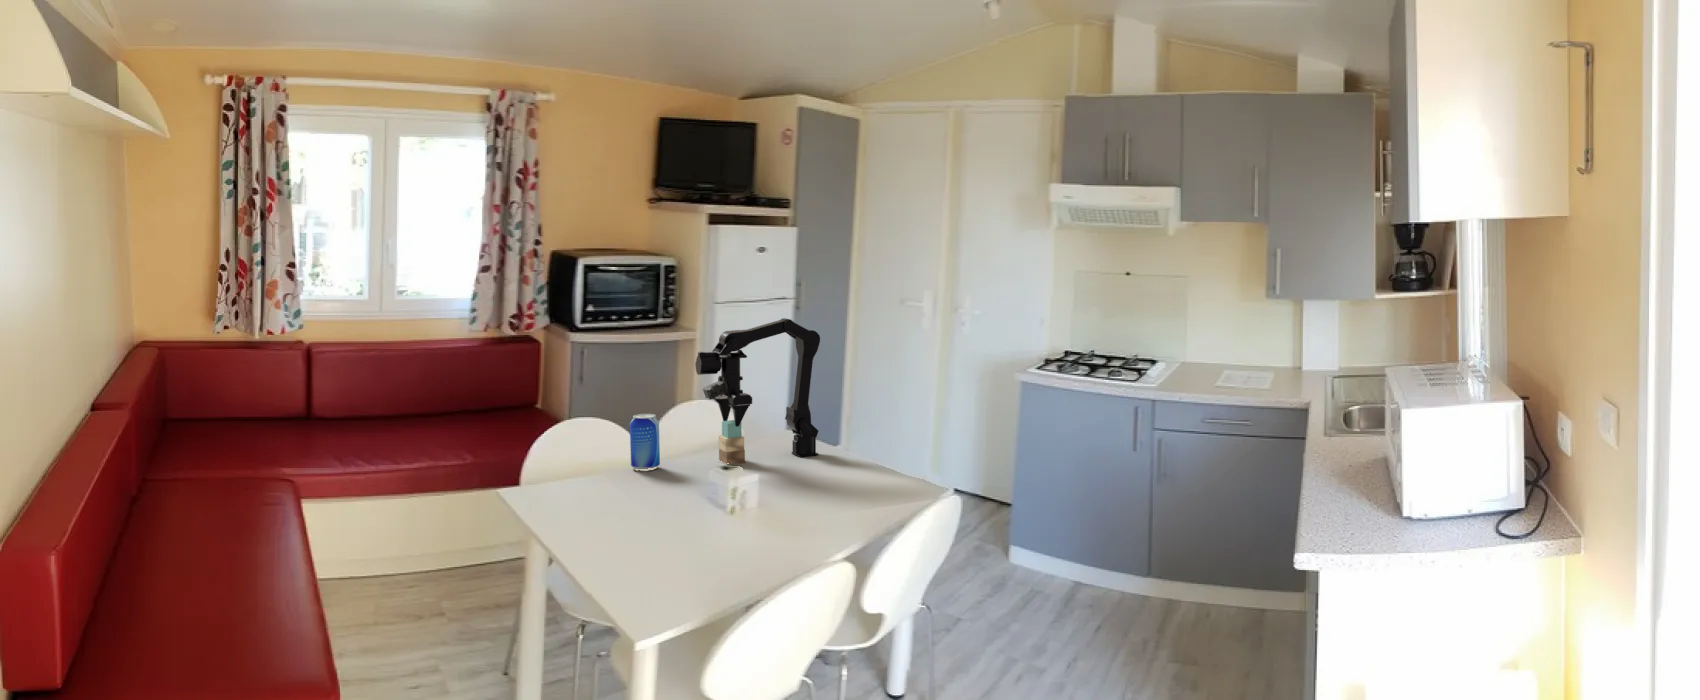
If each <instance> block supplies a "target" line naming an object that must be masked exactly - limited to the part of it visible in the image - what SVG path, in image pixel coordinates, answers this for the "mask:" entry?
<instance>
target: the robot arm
mask: <svg viewBox="0 0 1700 700" xmlns="http://www.w3.org/2000/svg"><path fill="white" fill-rule="evenodd" d="M784 333H785V334H787V335H789V337H791V338H793V339H794V340H795V348H796V354H797V357H798V358H797V368H796V374H795V375H796V377H795V385H794V394H793V402H792V404H791V406H786V408H785V410H786V412H785V413H786V414H785V418H784V420H786V425H787V426H788V428H790V430H791V431H792V434H794V435H793V440H792V451H791V454H792V455H795V456H797V457H799V458H804V457H812V456H819V453H818V452H817V448H816V447H817V439H816V438H817V437H818V434H819V430H818V429H817V427H815V426H814V425H813V424H812V415H811V414H812V413H811V410H810V406H809V401H810V388H811V382H812V381H811V380H812V372H813V362H814V358H815V356H816V354H817V353H818V350H819V346H820V343H821V335H820V334H819V333H818V332H817V331H816V330H814V329H813V330H812V329H809V328H806V327H804V326H802V325H799V324H798V323H796V322H794V321H793V320H792V319H790V318H785V317H783V318H781V319H779V320H774V321H772V322H768V323H765V324H762V325H757V326H754V327H751V328H747V329H734V330H726V331H723V332H722V333H720V335H719V337H718V338H719V339H718V342H717V344H716V345H715V346H714V348H713V349H712V351H698V352H697V356H696V359H695V371H696V374H697V375H698V376H699V375H700V376H701V375H717V374H718V373H719V372H721V375H718V377H717V381H715V382H713V383H711V384H709V385H706V386H704V387H702V391H703V394H704V396H705V399H708V400H710V401H711V400H713V401H714V402H715V403H716V404H718V407H719V410H720V413H721V418H722V421H729V420H728V419H729V417H730V412H731V409H732V413H733V420H734V421H735V426H736V427H738V426H739V425H740V423H741V424H742V421H743V419H744V417H745V414H746V413H747V410H748V409H749V407H751V405H752V404H753V397H752V396H751V394H748V393H747V392H746V393H745V392H743V391H744V390H743V389H741V381H743V380H744V377H743V376H742V375H741V359H747V358H748V355H747V354H745V352H743V350H742V349H744V348H746V347H747V346H748V345H750V344H751V343H755V342H756V341H760V340H764V339H767V338H770V337H775V336H777V335H780V334H784Z"/></svg>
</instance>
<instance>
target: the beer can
mask: <svg viewBox="0 0 1700 700" xmlns="http://www.w3.org/2000/svg"><path fill="white" fill-rule="evenodd" d="M656 416H657V415H656V414H654V413H639V414H633V416H632V419H631V421H630V422H629V435H630V436H629V439H630V441H629V442H630V443H629V444H630V466H631V467H632V470H634V469H648V468H654V467H657V466H658V467H659V466H660V464H661V461H660V460H661V458H660V457H661V456H660V453H661V452H660V451H661V449H660V422H659V420H658V419H657V417H656Z"/></svg>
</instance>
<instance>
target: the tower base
mask: <svg viewBox="0 0 1700 700" xmlns="http://www.w3.org/2000/svg"><path fill="white" fill-rule="evenodd" d="M719 460H720V461H722V462H724V463H726V464H727V463H729V464H730V465H736V464H737V463H738V464H745V462H746V450H745V449H744V450H741V451H732V452H725V451H723V450H721V449H719V448H718V461H719ZM720 461H719V462H720ZM722 462H721V463H722ZM724 463H723V464H724ZM731 463H733V464H731ZM726 464H725V465H726Z"/></svg>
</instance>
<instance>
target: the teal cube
mask: <svg viewBox="0 0 1700 700" xmlns="http://www.w3.org/2000/svg"><path fill="white" fill-rule="evenodd" d="M721 435H722V436H724V437H726V438H737V437H742V436H743V435H742V422H741V423H740V425H739V426H738V427H736V426H735V421H734V419H731V420H727V421H723V420H722V421H721Z"/></svg>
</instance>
